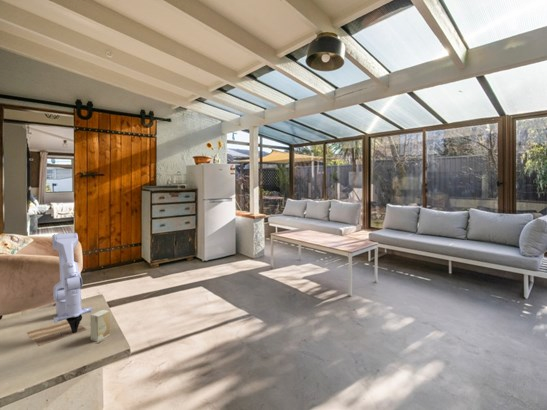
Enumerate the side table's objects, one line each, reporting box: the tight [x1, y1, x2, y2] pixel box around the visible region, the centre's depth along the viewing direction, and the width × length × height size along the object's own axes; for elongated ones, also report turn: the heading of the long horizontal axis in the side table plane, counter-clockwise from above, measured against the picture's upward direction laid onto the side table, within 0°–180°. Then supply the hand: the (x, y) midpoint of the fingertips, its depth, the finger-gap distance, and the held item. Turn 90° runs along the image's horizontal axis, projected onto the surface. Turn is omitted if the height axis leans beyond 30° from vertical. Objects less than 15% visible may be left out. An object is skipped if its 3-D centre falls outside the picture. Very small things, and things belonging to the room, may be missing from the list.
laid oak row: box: [26, 319, 83, 341], centre depth 132 cm, size 10×18×1 cm, turn 141°
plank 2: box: [59, 325, 87, 338], centre depth 130 cm, size 7×8×1 cm
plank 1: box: [34, 332, 65, 347], centre depth 123 cm, size 7×8×1 cm
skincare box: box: [90, 309, 111, 344], centre depth 125 cm, size 6×4×12 cm
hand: (74, 332), depth 129 cm, fingers closed, pressing on plank 2
